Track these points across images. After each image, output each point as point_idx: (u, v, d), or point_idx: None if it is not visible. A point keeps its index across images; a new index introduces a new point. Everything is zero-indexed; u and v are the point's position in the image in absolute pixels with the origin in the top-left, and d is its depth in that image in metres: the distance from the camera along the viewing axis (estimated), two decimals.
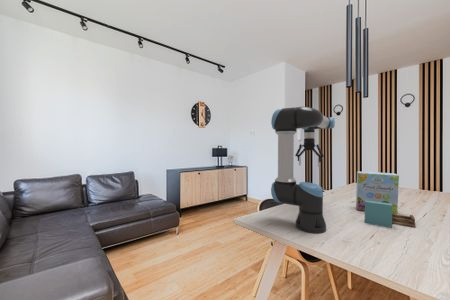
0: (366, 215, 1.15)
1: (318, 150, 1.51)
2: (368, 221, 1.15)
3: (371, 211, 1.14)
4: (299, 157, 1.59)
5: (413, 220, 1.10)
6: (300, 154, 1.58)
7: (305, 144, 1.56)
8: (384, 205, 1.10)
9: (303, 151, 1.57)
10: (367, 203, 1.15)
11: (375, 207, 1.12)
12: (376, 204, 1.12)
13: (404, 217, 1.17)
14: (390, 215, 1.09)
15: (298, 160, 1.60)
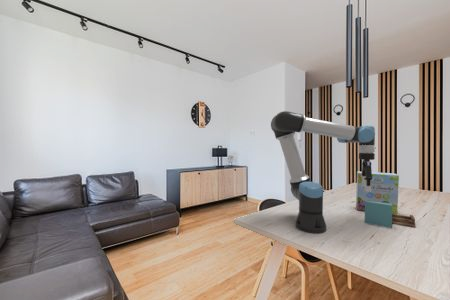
0: (366, 215, 1.15)
1: (365, 169, 1.13)
2: (368, 221, 1.15)
3: (371, 211, 1.14)
4: (362, 176, 1.26)
5: (413, 220, 1.10)
6: (362, 172, 1.25)
7: (363, 160, 1.21)
8: (384, 205, 1.10)
9: (363, 169, 1.23)
10: (367, 203, 1.15)
11: (375, 207, 1.12)
12: (376, 204, 1.12)
13: (404, 217, 1.17)
14: (390, 215, 1.09)
15: None
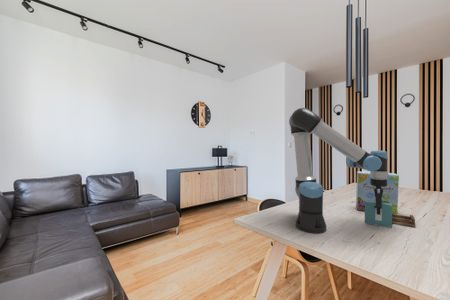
0: (366, 215, 1.15)
1: None
2: (368, 221, 1.15)
3: (371, 211, 1.14)
4: None
5: (413, 220, 1.10)
6: None
7: None
8: (384, 205, 1.10)
9: None
10: (367, 203, 1.15)
11: None
12: None
13: (404, 217, 1.17)
14: (390, 215, 1.09)
15: None
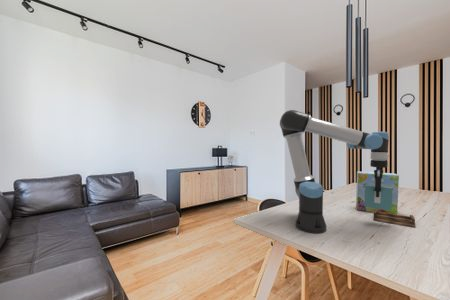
0: (366, 199, 1.15)
1: (375, 180, 1.10)
2: (368, 205, 1.14)
3: (370, 195, 1.13)
4: None
5: (413, 220, 1.10)
6: None
7: None
8: (384, 188, 1.10)
9: None
10: (367, 187, 1.14)
11: None
12: None
13: (404, 217, 1.17)
14: (390, 198, 1.08)
15: None
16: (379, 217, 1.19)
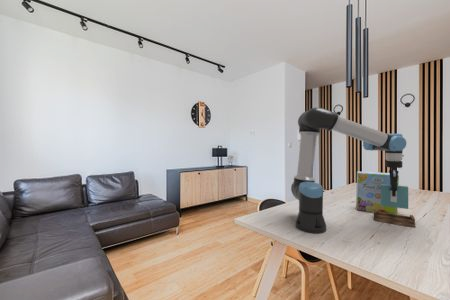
0: (382, 198, 1.19)
1: (391, 179, 1.15)
2: (384, 204, 1.19)
3: (387, 194, 1.18)
4: None
5: (413, 220, 1.10)
6: (390, 184, 1.21)
7: None
8: (400, 187, 1.15)
9: None
10: (383, 186, 1.19)
11: None
12: None
13: (404, 217, 1.17)
14: (406, 197, 1.13)
15: None
16: (379, 217, 1.19)
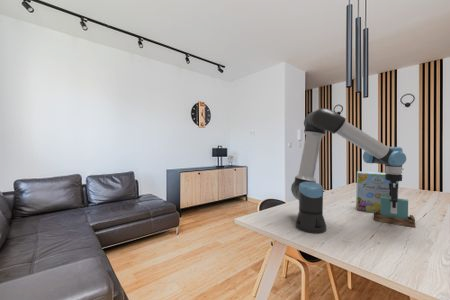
0: (382, 211, 1.19)
1: (391, 191, 1.13)
2: None
3: (387, 207, 1.18)
4: (389, 196, 1.24)
5: (413, 220, 1.10)
6: (389, 193, 1.24)
7: None
8: (400, 201, 1.15)
9: (390, 189, 1.22)
10: (383, 199, 1.19)
11: None
12: None
13: None
14: (406, 210, 1.13)
15: None
16: (379, 217, 1.19)
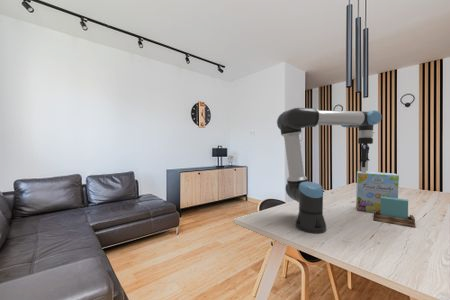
0: (382, 211, 1.19)
1: (361, 152, 1.22)
2: None
3: (387, 207, 1.18)
4: None
5: (413, 220, 1.10)
6: None
7: None
8: (400, 201, 1.15)
9: None
10: (383, 199, 1.19)
11: (391, 202, 1.17)
12: (392, 200, 1.17)
13: None
14: (406, 210, 1.13)
15: None
16: (379, 217, 1.19)
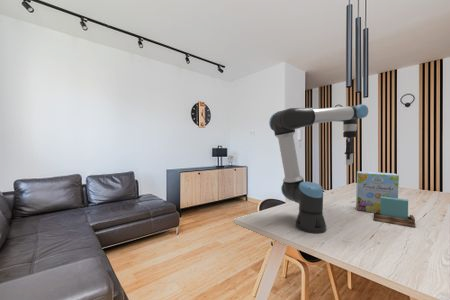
0: (382, 211, 1.19)
1: (346, 145, 1.27)
2: None
3: (387, 207, 1.18)
4: None
5: (413, 220, 1.10)
6: None
7: None
8: (400, 201, 1.15)
9: None
10: (383, 199, 1.19)
11: (391, 202, 1.17)
12: (392, 200, 1.17)
13: None
14: (406, 210, 1.13)
15: None
16: (379, 217, 1.19)
